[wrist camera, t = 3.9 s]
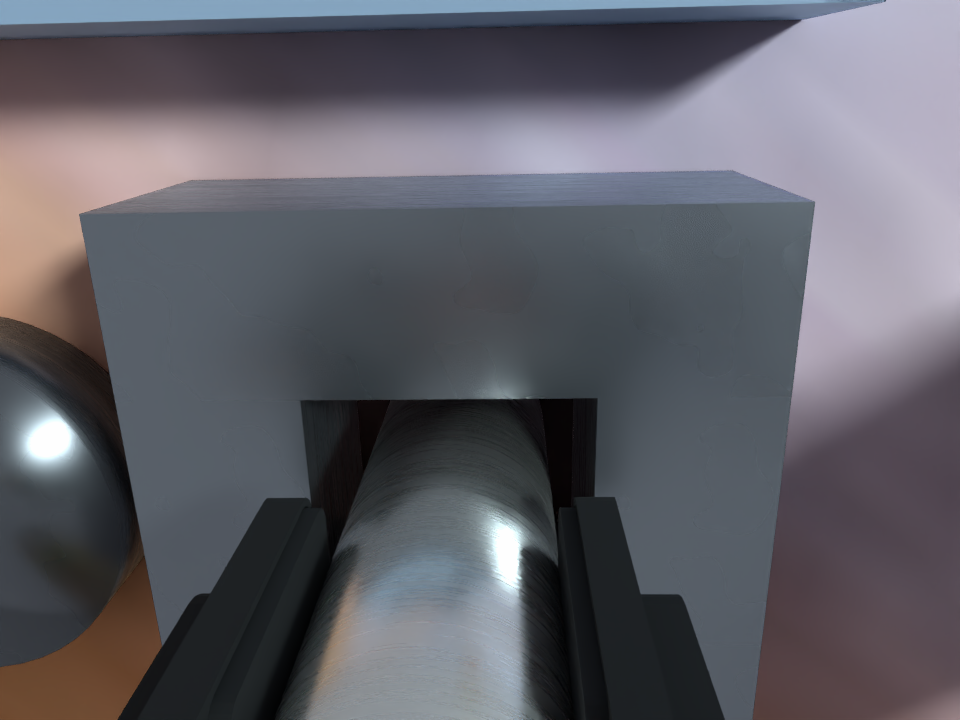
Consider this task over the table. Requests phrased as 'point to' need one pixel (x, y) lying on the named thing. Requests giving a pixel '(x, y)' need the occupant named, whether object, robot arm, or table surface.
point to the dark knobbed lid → (58, 494)
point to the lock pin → (442, 577)
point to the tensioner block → (463, 357)
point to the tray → (372, 15)
